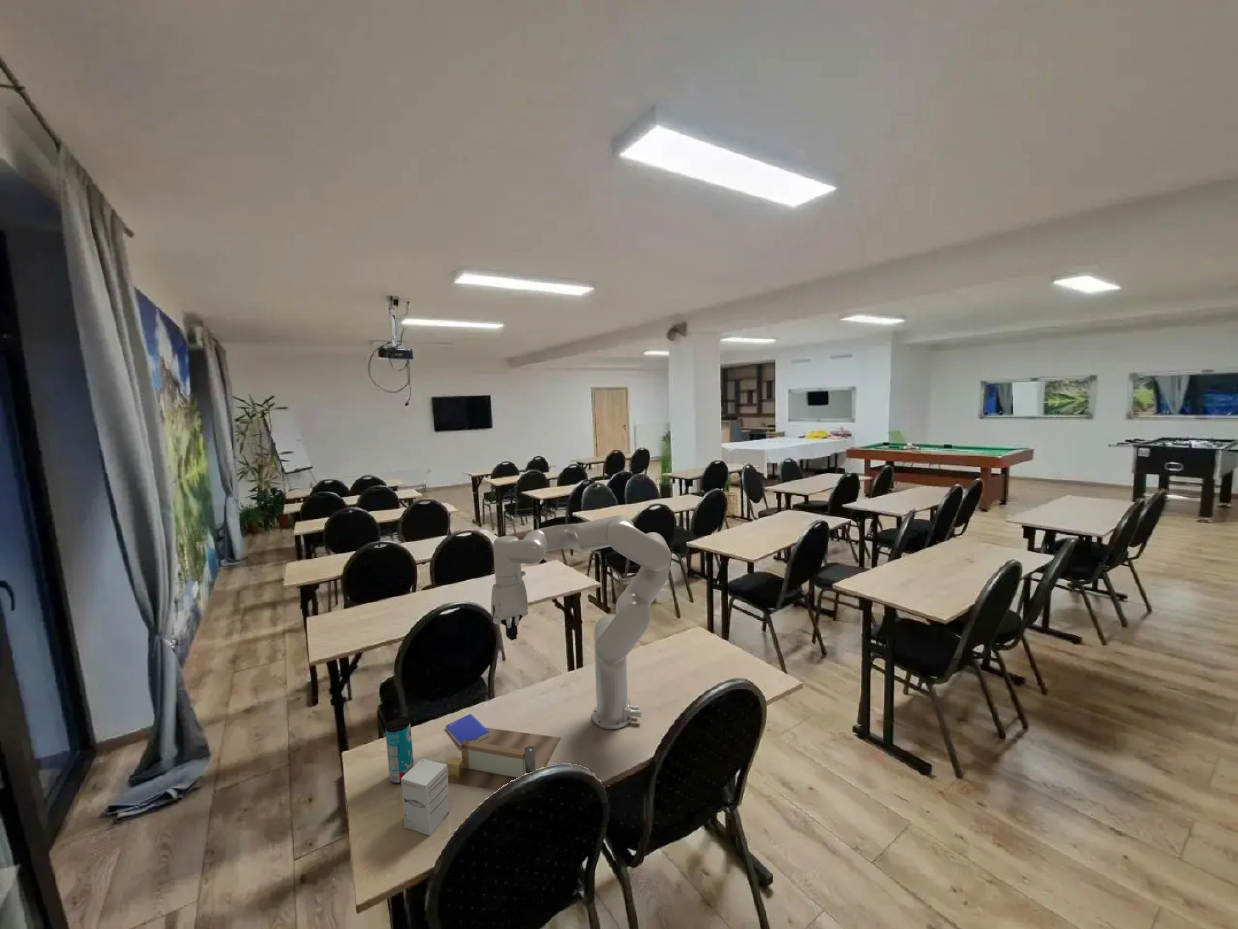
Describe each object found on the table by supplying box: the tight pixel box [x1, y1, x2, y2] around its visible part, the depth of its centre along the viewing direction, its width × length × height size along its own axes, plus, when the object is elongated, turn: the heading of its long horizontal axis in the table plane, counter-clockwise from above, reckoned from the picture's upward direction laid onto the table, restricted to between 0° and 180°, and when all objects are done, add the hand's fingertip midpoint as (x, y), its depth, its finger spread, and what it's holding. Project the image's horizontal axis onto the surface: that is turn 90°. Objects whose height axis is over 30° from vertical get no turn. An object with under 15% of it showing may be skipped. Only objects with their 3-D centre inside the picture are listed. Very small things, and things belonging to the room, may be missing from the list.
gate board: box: [448, 727, 562, 791], centre depth 136 cm, size 24×22×1 cm
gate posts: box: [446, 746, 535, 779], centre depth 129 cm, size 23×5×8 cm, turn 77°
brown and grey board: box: [460, 740, 526, 778], centre depth 131 cm, size 18×2×7 cm, turn 75°
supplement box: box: [400, 757, 451, 836], centre depth 116 cm, size 7×7×13 cm
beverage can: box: [384, 716, 415, 785], centre depth 130 cm, size 6×6×15 cm
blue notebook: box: [445, 713, 490, 747], centre depth 148 cm, size 2×8×12 cm
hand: (512, 638), depth 149 cm, fingers closed
